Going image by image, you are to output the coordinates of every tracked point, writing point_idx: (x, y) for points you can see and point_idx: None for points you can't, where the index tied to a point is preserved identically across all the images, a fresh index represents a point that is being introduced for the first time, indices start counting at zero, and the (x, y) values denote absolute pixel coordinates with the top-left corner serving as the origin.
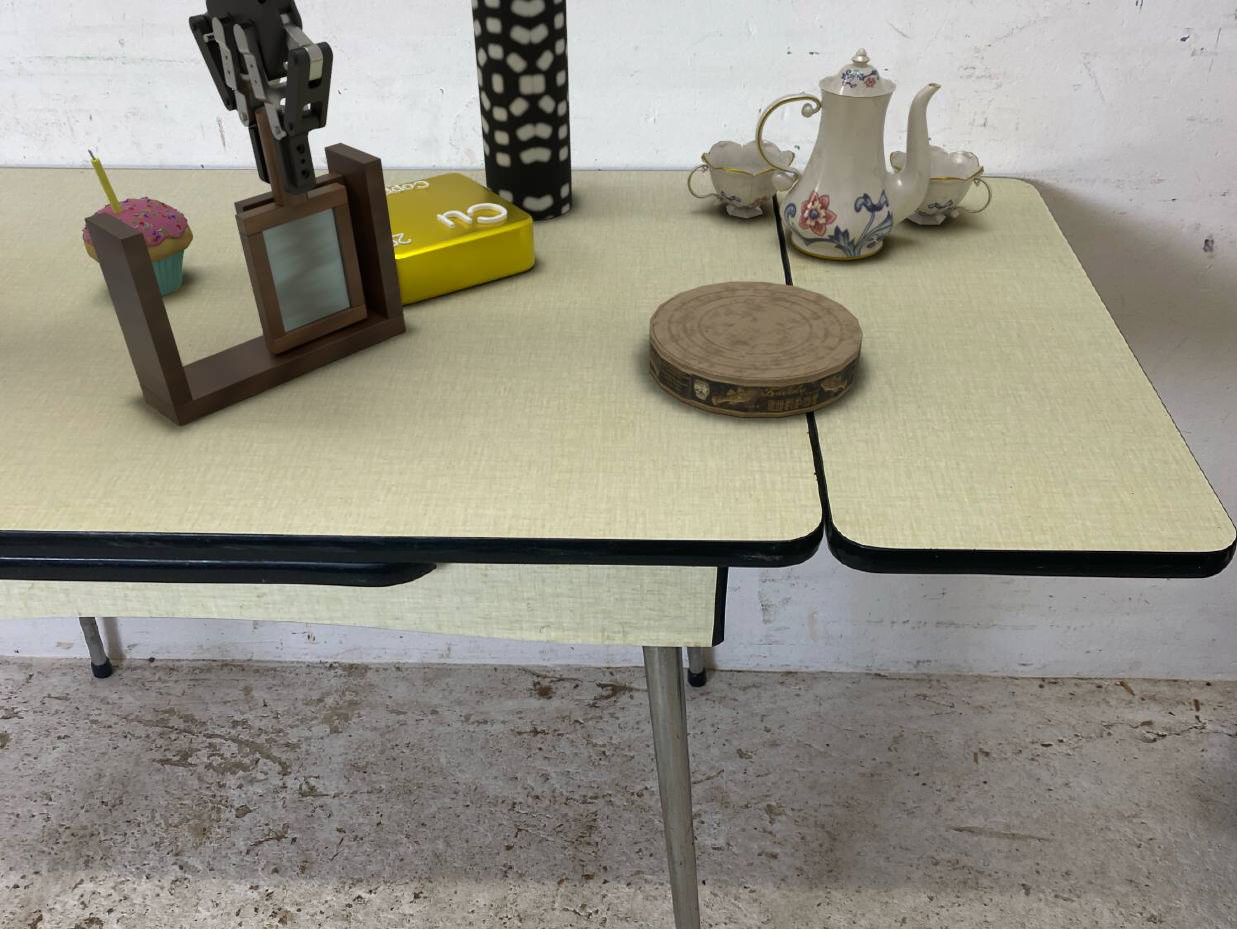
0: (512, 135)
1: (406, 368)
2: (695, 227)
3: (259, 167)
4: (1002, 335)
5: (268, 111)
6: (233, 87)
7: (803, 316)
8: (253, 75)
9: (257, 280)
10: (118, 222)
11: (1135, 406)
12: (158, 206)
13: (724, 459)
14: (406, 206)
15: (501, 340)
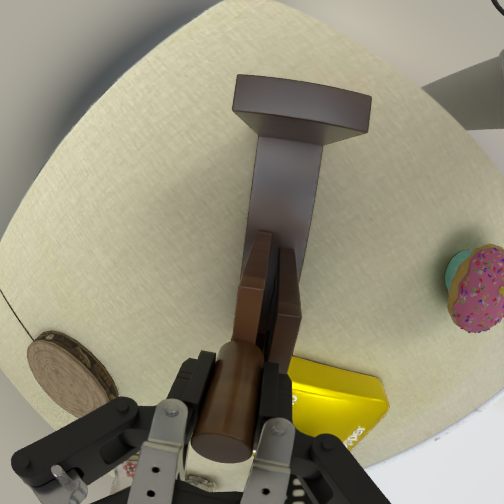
0: (290, 495)
1: (189, 291)
2: (201, 468)
3: (271, 374)
4: (54, 413)
5: (177, 434)
6: (263, 467)
7: (64, 399)
8: (156, 480)
9: (250, 254)
10: (307, 113)
11: (12, 381)
12: (482, 320)
13: (26, 298)
14: (323, 433)
15: (172, 350)
